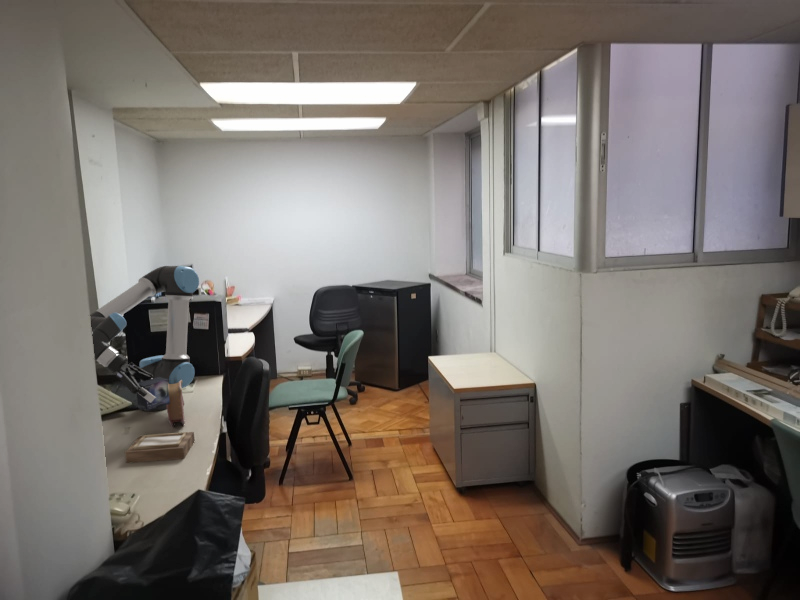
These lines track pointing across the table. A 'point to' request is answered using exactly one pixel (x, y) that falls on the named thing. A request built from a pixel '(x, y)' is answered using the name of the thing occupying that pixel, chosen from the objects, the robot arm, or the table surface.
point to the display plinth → (160, 447)
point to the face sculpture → (175, 403)
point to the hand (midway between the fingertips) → (158, 395)
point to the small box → (154, 393)
